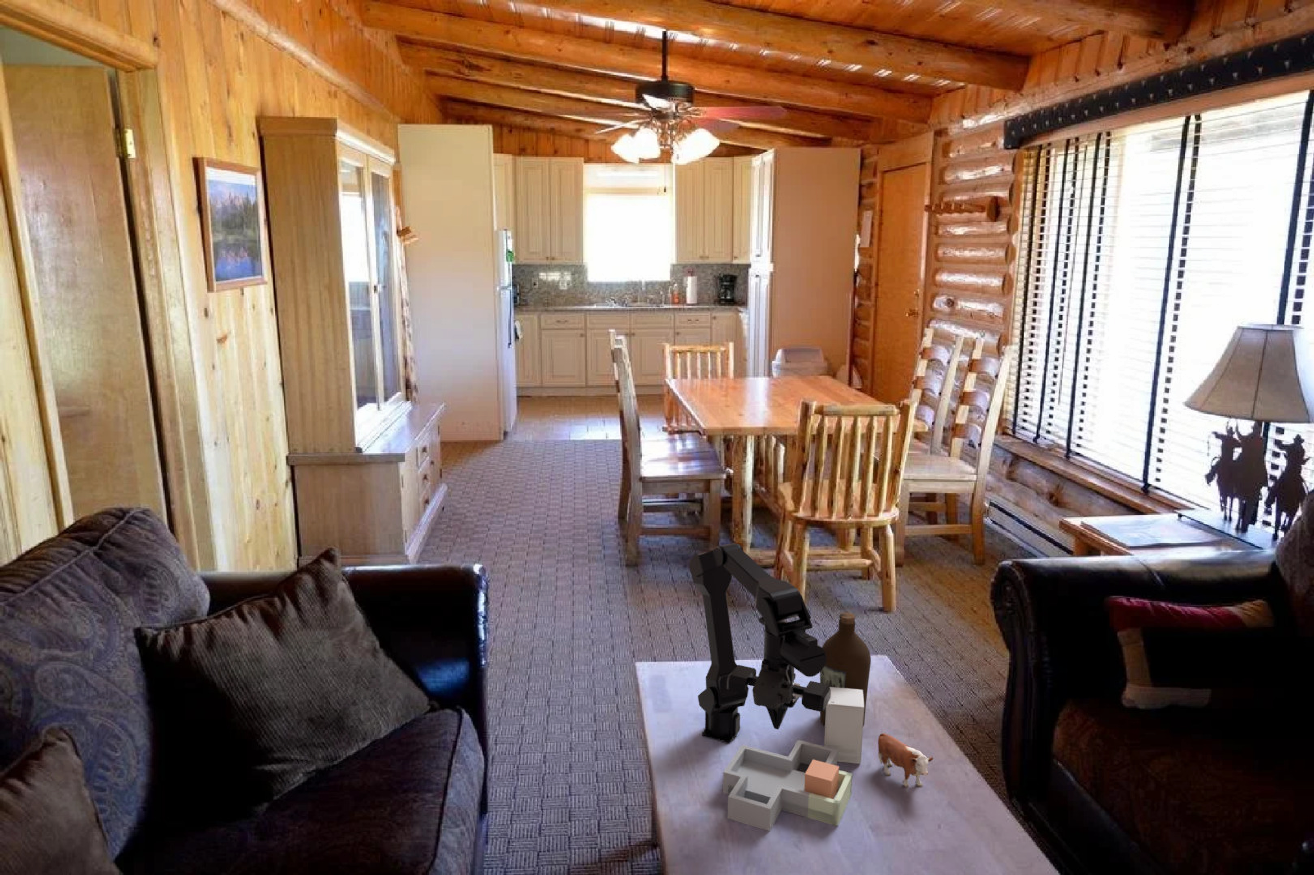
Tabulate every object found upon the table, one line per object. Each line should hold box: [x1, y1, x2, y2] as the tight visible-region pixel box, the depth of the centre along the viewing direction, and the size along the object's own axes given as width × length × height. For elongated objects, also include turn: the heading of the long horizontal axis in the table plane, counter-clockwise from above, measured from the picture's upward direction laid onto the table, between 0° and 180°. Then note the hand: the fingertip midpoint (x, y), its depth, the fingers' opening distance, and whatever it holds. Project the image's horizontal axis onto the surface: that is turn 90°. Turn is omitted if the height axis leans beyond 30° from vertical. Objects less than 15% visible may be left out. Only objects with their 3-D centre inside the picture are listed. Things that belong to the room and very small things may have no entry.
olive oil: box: [819, 612, 872, 728], centre depth 186 cm, size 11×11×25 cm
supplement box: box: [823, 687, 864, 765], centre depth 177 cm, size 7×7×13 cm
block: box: [804, 760, 840, 799], centre depth 161 cm, size 5×5×5 cm
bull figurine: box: [877, 732, 934, 788], centre depth 168 cm, size 4×13×8 cm, turn 27°
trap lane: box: [722, 739, 853, 832], centre depth 165 cm, size 22×23×4 cm
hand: (776, 728), depth 165 cm, fingers closed
